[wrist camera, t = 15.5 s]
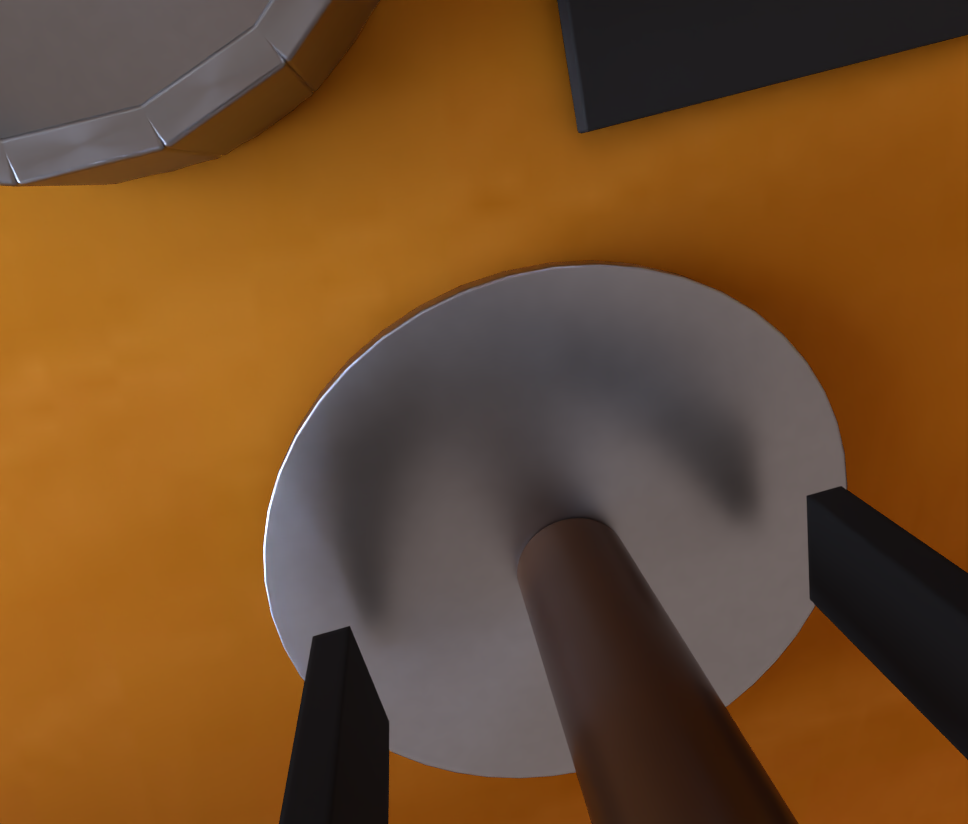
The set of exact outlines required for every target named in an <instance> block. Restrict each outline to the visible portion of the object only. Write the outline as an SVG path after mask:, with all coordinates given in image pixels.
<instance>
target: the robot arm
mask: <svg viewBox="0 0 968 824" xmlns="http://www.w3.org/2000/svg"><path fill="white" fill-rule="evenodd" d="M806 499H807V531H808V563H809V595H810V600H811V601H812V602H813V603H814V604H815V605H816V606H817V607H818V608H819V609H820V610H821V611H822V612H823V613H824V614H825V615H826V616H827V617H828V618H829V619H830V620H831V621H832V622H833V623H834V624H835V626H836V627H837V628H838V629H839V630H840V631H841V632H842V633H843V634H844V635H845V636H846V637H847V638H848V639H849V640H850V641H851V642H852V643H853V644H854V645H855V646H856V647H857V648H858V649H859V650H860V651H861V652H862V653H863V654H864V655H865V656H866V657H867V658H868V659H869V660H870V661H871V662H872V663H873V664H874V665H875V666H876V667H877V668H878V669H879V670H880V671H881V672H882V673H883V674H884V675H885V676H886V677H887V678H888V679H889V680H890V681H891V682H892V683H893V684H894V685H895V686H896V687H897V688H898V689H899V690H900V692H901V693H902V694H903V695H904V696H905V697H906V698H907V699H908V700H909V701H910V702H911V703H912V704H913V705H914V706H915V707H916V708H917V709H918V710H919V711H920V712H921V713H922V714H923V715H924V716H925V717H926V718H927V719H928V720H929V721H930V722H931V723H932V724H933V725H934V726H935V727H936V728H937V729H938V730H939V731H940V732H941V733H942V734H943V735H944V736H945V737H946V738H947V739H948V740H949V741H950V742H951V743H952V744H953V745H954V746H955V747H956V748H957V749H958V750H959V751H960V752H961V753H962V754H963V755H964V756H965V758H966V759H967V760H968V573H967V572H965V571H964V570H962V569H961V568H959V567H958V566H957V565H955V564H954V563H952V562H951V561H949V560H948V559H946V558H945V557H944V556H942V555H941V554H939V553H938V552H936V551H935V550H933V549H932V548H930V547H929V546H928V545H926V544H925V543H923V542H922V541H920V540H919V539H917V538H916V537H915V536H913V535H912V534H910V533H909V532H907V531H906V530H904V529H903V528H901V527H900V526H899V525H897V524H896V523H894V522H893V521H891V520H890V519H888V518H887V517H886V516H884V515H883V514H881V513H880V512H878V511H877V510H875V509H874V508H872V507H871V506H870V505H868V504H867V503H865V502H864V501H862V500H861V499H859V498H858V497H856V496H855V495H854V494H852V493H851V492H849V491H848V490H846V489H845V488H843V487H842V486H839V487H836V488H832V489H828V490H825V491H821V492H818V493H814V494H811V495H807V496H806ZM388 808H389V720H388V717H387V715H386V712H385V710H384V708H383V705H382V703H381V700H380V698H379V695H378V693H377V691H376V688H375V686H374V683H373V681H372V678H371V676H370V674H369V671H368V669H367V666H366V664H365V661H364V659H363V656H362V654H361V652H360V649H359V647H358V644H357V642H356V639H355V637H354V635H353V632H352V630H351V627H350V626H348V627H344V628H340V629H337V630H333V631H330V632H326V633H323V634H319V635H316V636H313V638H312V643H311V649H310V654H309V660H308V666H307V671H306V677H305V682H304V688H303V693H302V699H301V704H300V710H299V715H298V721H297V727H296V732H295V738H294V743H293V749H292V754H291V760H290V765H289V771H288V777H287V782H286V788H285V793H284V799H283V804H282V810H281V815H280V821H279V824H388Z"/></svg>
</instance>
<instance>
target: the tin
mask: <svg viewBox="0 0 968 824" xmlns="http://www.w3.org/2000/svg"><path fill="white" fill-rule="evenodd" d="M379 2H380V0H0V185H2V186H60V185H107V184H117V183H121V182H125V181H129V180H133V179H137V178H141V177H145V176H149V175H154V174H159V173H165V172H171V171H175V170H178V169H181V168H184V167H187V166H190V165H193V164H197V163H201V162H205V161H209V160H213V159H217V158H219V157H220V156H221V155H226V154H228V153H229V152H231V151H232V150H233V149H235V148H236V147H238V146H239V145H241V144H242V143H244V142H246V141H248V140H250V139H252V138H254V137H256V136H258V135H259V134H261V133H262V132H263V131H265V130H266V129H268V128H269V127H270V126H272V125H273V124H275V123H276V122H277V121H279V120H280V119H282V118H283V117H284V116H286V115H287V114H289V113H290V112H291V111H293V110H294V109H295V108H296V107H297V106H298V105H299V104H300V103H302V102H303V101H304V100H306V99H307V98H309V97H310V96H312V94H313V91H316V90H318V88H319V87H320V86H321V84H322V83H323V81H324V80H325V79H326V78H327V77H328V76H329V74H330V73H331V72H332V70H333V69H334V68H335V66H336V65H337V64H338V63H339V61H340V60H341V59H342V57H343V56H344V55H345V53H346V52H347V51H348V50H349V48H350V47H351V46H352V44H353V43H354V42H355V41H356V39H357V37H358V36H359V34H360V32H361V30H362V29H363V27H364V25H365V23H366V22H367V20H368V18H369V16H370V15H371V13H372V12H373V10H374V9H375V7H376V6H377V5H378V3H379Z"/></svg>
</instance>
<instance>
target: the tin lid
mask: <svg viewBox="0 0 968 824" xmlns="http://www.w3.org/2000/svg"><path fill="white" fill-rule="evenodd" d="M839 486H842V487H843V488H845V489H846V490H847V477H846V463H845V453H844V448H843V444H842V440H841V435H840V431H839V427H838V422H837V420H836V417H835V415H834V412H833V410H832V408H831V405H830V403H829V400H828V398H827V395H826V393H825V391H824V389H823V387H822V386H821V384H820V382H819V381H818V379H817V377H816V376H815V374H814V373H813V371H812V369H811V368H810V366H809V364H808V363H807V361H806V360H805V359H804V358H803V356H802V355H801V354H800V353H799V352H798V351H797V350H796V348H795V347H794V346H793V345H792V344H791V343H790V342H789V340H788V339H787V338H786V337H785V336H784V335H783V334H782V333H781V332H780V331H779V330H777V329H776V328H775V327H774V326H773V325H771V324H770V323H769V322H768V321H767V320H765V319H764V318H763V317H762V316H761V315H759V314H758V313H757V312H756V311H754V310H753V309H751V308H749V307H748V306H746V305H744V304H743V303H741V302H739V301H737V300H736V299H734V298H732V297H731V296H729V295H727V294H725V293H724V292H722V291H720V290H717V289H715V288H712V287H710V286H707V285H705V284H702V283H700V282H697V281H695V280H692V279H689V278H687V277H684V276H682V275H679V274H676V273H672V272H668V271H663V270H659V269H655V268H650V267H646V266H642V265H637V264H631V263H619V262H606V261H594V260H587V261H570V262H552V263H544V264H539V265H533V266H528V267H523V268H518V269H513V270H508V271H503V272H500V273H497V274H494V275H491V276H488V277H485V278H482V279H479V280H476V281H473V282H470V283H467V284H464V285H461V286H459V287H457V288H455V289H453V290H451V291H449V292H447V293H445V294H443V295H440V296H438V297H436V298H434V299H432V300H430V301H428V302H426V303H424V304H422V305H420V306H418V307H417V308H415V309H414V310H412V311H411V312H409V313H408V314H406V315H405V316H403V317H402V318H400V319H399V320H397V321H396V322H394V323H393V324H391V325H390V326H388V327H387V328H385V329H384V330H382V331H381V332H380V333H379V334H378V335H376V336H375V337H374V338H373V339H372V340H371V341H370V342H369V343H367V344H366V345H365V346H364V347H363V348H362V349H361V350H359V351H358V352H357V353H356V354H355V355H354V356H353V357H351V358H350V359H349V360H348V361H347V362H346V364H345V365H344V366H343V367H342V368H341V369H340V371H339V372H338V373H337V374H336V375H335V376H334V377H333V379H332V380H331V381H330V382H329V383H328V384H327V386H326V387H325V388H324V389H323V390H322V391H321V393H320V394H319V396H318V397H317V399H316V400H315V402H314V403H313V405H312V406H311V408H310V410H309V411H308V413H307V414H306V416H305V417H304V419H303V420H302V422H301V423H300V425H299V427H298V429H297V431H296V433H295V435H294V437H293V440H292V442H291V444H290V446H289V448H288V451H287V453H286V455H285V457H284V459H283V462H282V464H281V466H280V469H279V471H278V475H277V478H276V482H275V485H274V489H273V492H272V496H271V499H270V503H269V506H268V510H267V519H266V527H265V535H264V543H263V555H264V580H265V586H266V591H267V596H268V601H269V606H270V611H271V615H272V618H273V620H274V623H275V626H276V628H277V631H278V634H279V636H280V639H281V641H282V644H283V647H284V648H285V650H286V652H287V654H288V655H289V657H290V659H291V661H292V662H293V664H294V666H295V668H296V669H297V671H298V673H299V675H300V676H301V677H302V678H303V680H304V681H305V677H306V671H307V666H308V660H309V654H310V649H311V643H312V638H313V636H316V635H319V634H323V633H326V632H330V631H333V630H337V629H340V628H344V627H348V626H350V627H351V630H352V632H353V635H354V637H355V639H356V642H357V644H358V647H359V649H360V652H361V654H362V656H363V659H364V661H365V664H366V666H367V669H368V671H369V674H370V676H371V678H372V681H373V683H374V686H375V688H376V691H377V693H378V695H379V698H380V700H381V703H382V705H383V708H384V710H385V712H386V715H387V717H388V720H389V750H390V751H392V752H394V753H395V754H398V755H401V756H403V757H406V758H409V759H411V760H414V761H416V762H419V763H422V764H424V765H428V766H432V767H436V768H440V769H444V770H448V771H452V772H456V773H463V774H470V775H477V776H484V777H501V778H530V777H547V776H556V775H562V774H569V773H575V772H576V774H577V777H578V780H579V783H580V787H581V790H582V793H583V797H584V800H585V803H586V806H587V810H588V813H589V816H590V820H591V823H592V824H798V822H797V821H796V819H795V817H794V816H793V814H792V813H791V811H790V809H789V808H788V806H787V805H786V803H785V801H784V800H783V798H782V797H781V795H780V793H779V792H778V790H777V789H776V787H775V785H774V784H773V782H772V781H771V779H770V777H769V776H768V774H767V773H766V771H765V769H764V768H763V766H762V765H761V763H760V761H759V760H758V758H757V757H756V755H755V753H754V752H753V750H752V749H751V747H750V745H749V744H748V742H747V741H746V739H745V737H744V736H743V734H742V733H741V731H740V729H739V728H738V726H737V725H736V723H735V721H734V720H733V718H732V717H731V715H730V713H729V712H728V710H727V709H726V707H727V706H728V705H729V704H731V703H732V702H733V701H734V700H735V699H737V698H738V697H739V696H740V695H741V694H742V693H744V692H745V691H746V690H747V689H748V688H750V687H751V686H752V685H753V684H754V683H755V682H756V681H757V680H758V679H759V678H760V677H761V676H762V675H763V674H764V673H765V672H766V671H767V670H768V669H769V668H770V667H771V666H772V665H773V664H774V663H775V662H776V661H777V659H778V658H779V657H780V656H781V654H782V653H783V652H784V651H785V649H786V648H787V647H788V646H789V644H790V643H791V642H792V641H793V639H794V638H795V637H796V636H797V634H798V632H799V631H800V629H801V628H802V626H803V625H804V623H805V621H806V620H807V618H808V617H809V615H810V614H811V612H812V610H813V609H814V607H815V604H814V603H813V602H812V601H811V600H810V595H809V563H808V531H807V499H806V496H807V495H811V494H814V493H818V492H821V491H825V490H828V489H832V488H836V487H839Z"/></svg>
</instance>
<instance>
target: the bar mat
mask: <svg viewBox="0 0 968 824" xmlns="http://www.w3.org/2000/svg"><path fill="white" fill-rule="evenodd" d="M557 2H558V9H559V15H560V21H561V28H562V34H563V40H564V47H565V53H566V59H567V66H568V72H569V78H570V85H571V91H572V97H573V103H574V110H575V116H576V122H577V129H578V132H579V133H585V132H589V131H593V130H596V129H600V128H604V127H608V126H612V125H616V124H620V123H624V122H628V121H632V120H636V119H640V118H643V117H647V116H651V115H655V114H659V113H663V112H667V111H671V110H675V109H679V108H683V107H686V106H690V105H694V104H698V103H702V102H706V101H710V100H714V99H718V98H722V97H726V96H730V95H733V94H737V93H741V92H745V91H749V90H753V89H757V88H761V87H765V86H769V85H773V84H777V83H780V82H784V81H788V80H792V79H796V78H800V77H804V76H808V75H812V74H816V73H820V72H823V71H827V70H831V69H835V68H839V67H843V66H847V65H851V64H855V63H859V62H863V61H867V60H870V59H874V58H878V57H882V56H886V55H890V54H894V53H898V52H902V51H906V50H910V49H914V48H917V47H921V46H925V45H929V44H933V43H937V42H941V41H945V40H949V39H953V38H957V37H961V36H964V35H968V0H557Z"/></svg>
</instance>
